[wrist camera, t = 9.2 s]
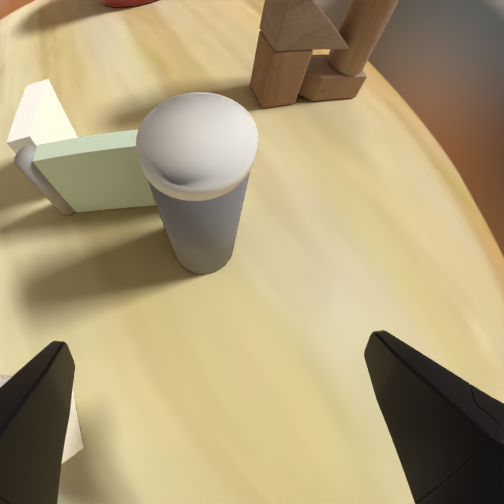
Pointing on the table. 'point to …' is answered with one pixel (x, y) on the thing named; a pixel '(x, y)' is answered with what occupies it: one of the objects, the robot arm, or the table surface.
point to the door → (88, 172)
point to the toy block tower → (314, 37)
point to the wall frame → (35, 133)
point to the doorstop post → (198, 173)
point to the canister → (125, 2)
